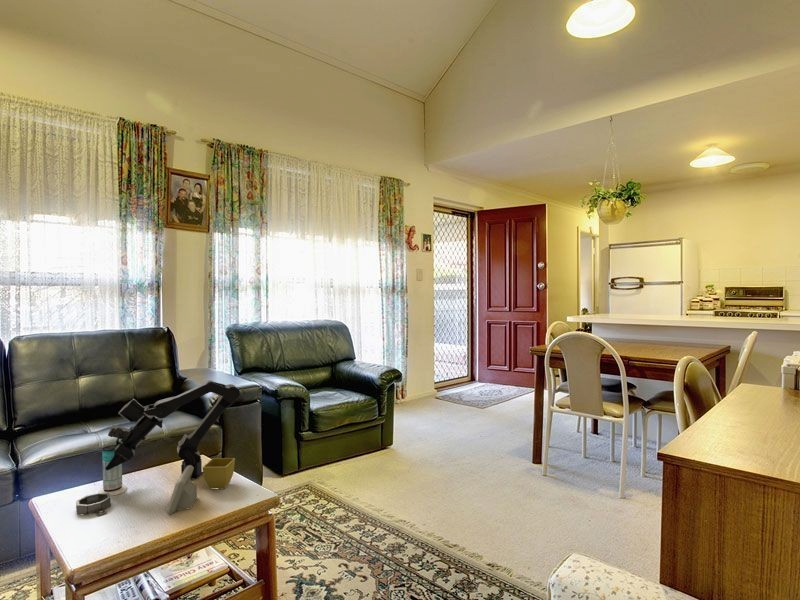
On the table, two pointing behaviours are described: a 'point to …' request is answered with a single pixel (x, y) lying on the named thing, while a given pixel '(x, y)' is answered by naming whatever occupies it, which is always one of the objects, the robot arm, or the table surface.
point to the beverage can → (111, 471)
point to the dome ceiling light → (114, 491)
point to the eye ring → (94, 504)
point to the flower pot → (218, 472)
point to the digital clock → (183, 492)
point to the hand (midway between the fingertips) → (107, 465)
